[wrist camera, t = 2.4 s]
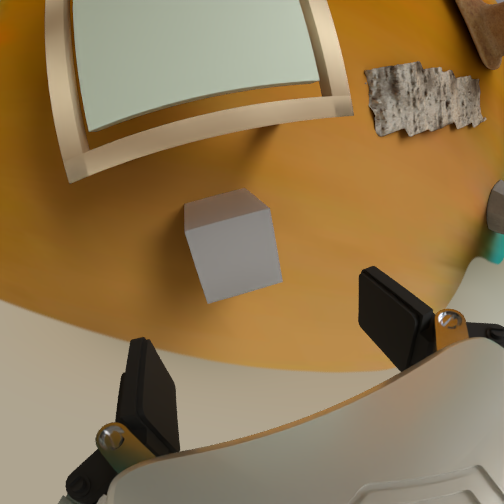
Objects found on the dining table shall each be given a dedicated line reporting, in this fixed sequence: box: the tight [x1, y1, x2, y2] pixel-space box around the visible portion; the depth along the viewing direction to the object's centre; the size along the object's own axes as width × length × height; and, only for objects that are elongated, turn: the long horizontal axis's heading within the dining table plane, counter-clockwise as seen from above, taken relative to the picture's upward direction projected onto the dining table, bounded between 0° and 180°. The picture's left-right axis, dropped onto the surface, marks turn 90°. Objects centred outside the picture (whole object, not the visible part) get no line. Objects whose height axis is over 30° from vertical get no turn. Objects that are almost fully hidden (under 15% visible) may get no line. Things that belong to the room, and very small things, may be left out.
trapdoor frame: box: [45, 0, 354, 184], centre depth 11 cm, size 18×13×10 cm
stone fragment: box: [365, 61, 486, 136], centre depth 22 cm, size 25×3×10 cm
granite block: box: [184, 188, 283, 304], centre depth 20 cm, size 5×5×7 cm
